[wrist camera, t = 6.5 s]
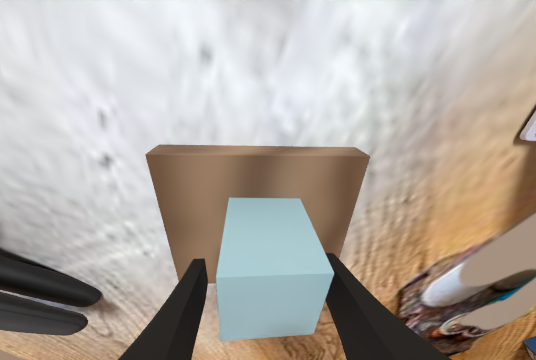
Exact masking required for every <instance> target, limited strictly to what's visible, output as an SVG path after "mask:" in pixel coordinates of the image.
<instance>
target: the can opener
mask: <svg viewBox="0 0 536 360" xmlns="http://www.w3.org/2000/svg"><path fill="white" fill-rule="evenodd" d="M0 290H4V291H8V292H12V293H17V294H21V295H25V296H29V297H34V298H38V299H42V300H47V301H52V302H57V303H61V304H66V305H71V306H76V307H88V306H91V305H93V304H95V303H97V302H98V301H99V299H100V297H101V294H100V292H99V291H98V290H97V289H95V288H94V287H92V286H90V285H87V284H85V283H83V282H80V281H79V280H77V279H74V278H72V277H69V276H66V275H63V274H60V273H57V272H54V271H51V270H48V269H44V268H41V267H37V266H33V265H30V264H26V263H22V262H19V261H15V260H11V259H8V258H5V257H1V256H0ZM87 324H88V320H87V318H86V317H85V316H84V315H83V314H80V313H77V312H73V311H69V310H65V309H62V308H58V307H53V306H49V305H46V304H43V303H39V302H35V301H32V300H29V299H25V298H21V297H18V296H14V295H11V294H7V293H3V292H0V330H5V331H14V332H24V333H36V334H48V335H72V334H74V333H77V332H79V331H81V330H82V329H84V328H85V327H86V325H87Z"/></svg>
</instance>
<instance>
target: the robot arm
mask: <svg viewBox="0 0 536 360" xmlns="http://www.w3.org/2000/svg"><path fill="white" fill-rule="evenodd" d="M520 139H521V140H526V141H536V111H535V112H534V114H533V115H532V117H531V118H530V120H529V121H528V123H527V125H526V126H525V128H524V129H523V131H522V132H521V134H520ZM325 254H326V256H327V258H328V260H329V263H330V265H331V267H332V269H333V271H334V276H333V278H332V281H331V284H330V287H329V290H328V293H327V296H326V299H325V300H326V303H327V305H328V308H329V310H330V313H331V316H332V318H333V321H334V323H335V326H336V329H337V331H338V334H339V337H340V339H341V342H342V345H343V349H344V352H345V356H346V359H347V360H452V359H450V358H449V357H447V356H446V355H445V354H443V353H442V352H440V351H439V350H438V349H436V348H435V347H433V346H432V345H431V344H429V343H428V342H427V341H425V340H424V339H423V338H422V337H420V336H419V335H418V334H416V333H415V332H414V331H413V330H411V329H410V328H409V327H408V326H406V325H405V324H404V323H403V322H401V321H400V320H399V319H398V318H397V317H396V316H395V315H393V314H392V313H391V312H390V311H389V310H388V309H387V308H385V307H384V306H383V305H382V304H381V303H380V302H379V301H378V300H377V299H376V298H375V297H374V296H373V295H372V294H371V293H370V292H369V291H368V290H367V289H366V288H365V287H364V286H363V285H362V284H361V283H360V282H359V281H358V280H357V279H356V278H355V277H354V275H353V274H352V273H351V272H350V271H349V270H348V269H347V268H346V267H345V265H344V264H343V263H342V262H341V261H340V260H339V259H338V258H337V256H336V255H335V254H334V253H325ZM207 286H208V277H207V270H206V263H205V258H201V259H193V260H192V262H191V263H190V265H189V267H188V268H187V270H186V272H185V273H184V275H183V277H182V278H181V280H180V281H179V283H178V284H177V286H176V287H175V289H174V290H173V292H172V293H171V295H170V296H169V298H168V299H167V300H166V302H165V303H164V304H163V306H162V307H161V308H160V310H159V311H158V313H157V314H156V315H155V317H154V318H153V319H152V320H151V322H150V323H149V324H148V325H147V327H146V328H145V329H144V330H143V331H142V333H141V334H140V335H139V336H138V338H137V339H136V340H135V341H134V342H133V343H132V344H131V346H130V347H129V348H128V349H127V350H126V351H125V352H124V353H123V355H122V356H121V357H120V358H119V359H118V360H191V358H192V353H193V349H194V345H195V340H196V336H197V332H198V328H199V324H200V320H201V316H202V312H203V308H204V304H205V299H206V293H207Z"/></svg>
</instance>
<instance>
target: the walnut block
mask: <svg viewBox="0 0 536 360" xmlns="http://www.w3.org/2000/svg"><path fill="white" fill-rule="evenodd" d="M145 155H146V159H147V163H148V166H149V170H150V174H151V178H152V182H153V185H154V189H155V193H156V197H157V200H158V204H159V208H160V212H161V216H162V219H163V223H164V227H165V231H166V234H167V238H168V242H169V246H170V249H171V253H172V257H173V261H174V265H175V268H176V272H177V276H178V280H179V281H180V280H181V278H182V277H183V275H184V273H185V272H186V270H187V268H188V267H189V265H190V263H191V262H192V260H193V259H201V258H205V263H206V270H207V277H208V283H216V274H217V268H218V262H219V256H220V250H221V243H222V237H223V231H224V225H225V219H226V213H227V207H228V201H229V198H297V199H301V201H302V204H303V206H304V208H305V210H306V212H307V215H308V217H309V219H310V221H311V223H312V226H313V228H314V230H315V232H316V234H317V236H318V239H319V241H320V243H321V245H322V247H323V250H324V252H325V253H334V254H335V255H336V256H337V258H338V259H339V257H340V253H341V250H342V247H343V244H344V240H345V237H346V234H347V230H348V227H349V224H350V221H351V217H352V214H353V211H354V208H355V204H356V201H357V198H358V195H359V191H360V188H361V185H362V182H363V178H364V175H365V172H366V168H367V165H368V162H369V159H370V156H369V155H367V154H365V153H364V152H362V151H360V150H359V149H357V148H356V147H286V146H216V145H158V146H157V147H155V148H154V149H152V150H151V151H150V152H148V153H147V154H145Z"/></svg>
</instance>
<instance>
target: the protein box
mask: <svg viewBox="0 0 536 360" xmlns="http://www.w3.org/2000/svg"><path fill="white" fill-rule="evenodd" d="M523 343H524V345H525V347H526V350H527V352H528V354H529V357H530V358H531V359H532V360H536V336H535V337H533V338H530V339H528V340H525V341H524V342H523Z"/></svg>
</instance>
